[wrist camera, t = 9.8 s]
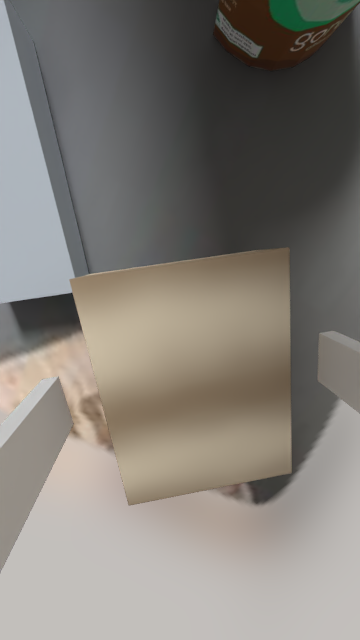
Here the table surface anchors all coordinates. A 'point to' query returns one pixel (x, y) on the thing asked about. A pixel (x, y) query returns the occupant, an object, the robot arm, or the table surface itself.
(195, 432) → the gold metallic plate
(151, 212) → the table surface
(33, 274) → the light gray rectangular block
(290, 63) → the food container
